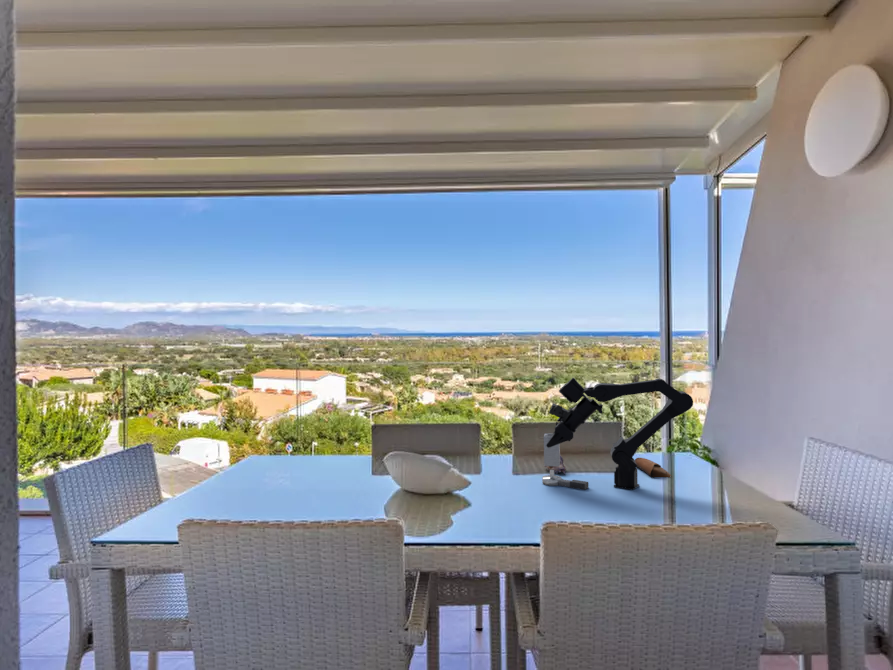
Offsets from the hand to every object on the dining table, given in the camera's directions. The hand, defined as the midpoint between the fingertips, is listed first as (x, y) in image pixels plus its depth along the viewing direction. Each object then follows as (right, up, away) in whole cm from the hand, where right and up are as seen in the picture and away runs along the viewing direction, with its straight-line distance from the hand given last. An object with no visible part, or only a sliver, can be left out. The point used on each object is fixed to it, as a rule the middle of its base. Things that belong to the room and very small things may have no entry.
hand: (547, 445), depth 202 cm
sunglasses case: (+41, -13, +15) cm, 45 cm away
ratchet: (+5, -13, -3) cm, 14 cm away
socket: (+1, -7, 0) cm, 7 cm away
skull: (+6, -13, +17) cm, 22 cm away
